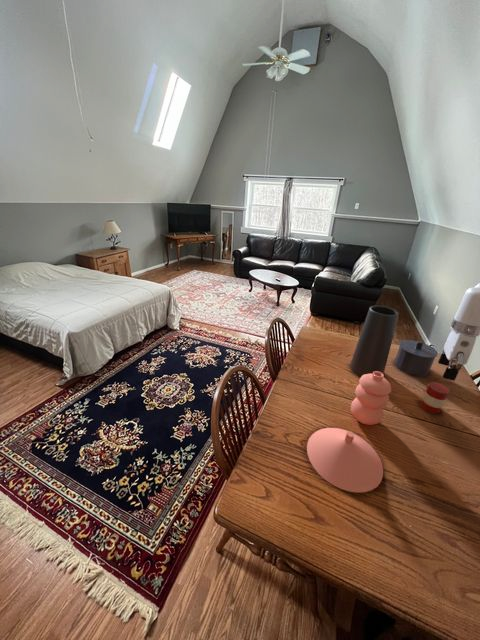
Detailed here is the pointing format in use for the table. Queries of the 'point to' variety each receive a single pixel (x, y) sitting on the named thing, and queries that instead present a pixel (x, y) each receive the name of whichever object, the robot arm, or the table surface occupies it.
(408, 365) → the pot
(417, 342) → the pot lid
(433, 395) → the sauce can
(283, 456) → the table surface
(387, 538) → the table surface
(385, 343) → the vase
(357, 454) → the ceramic vessels
